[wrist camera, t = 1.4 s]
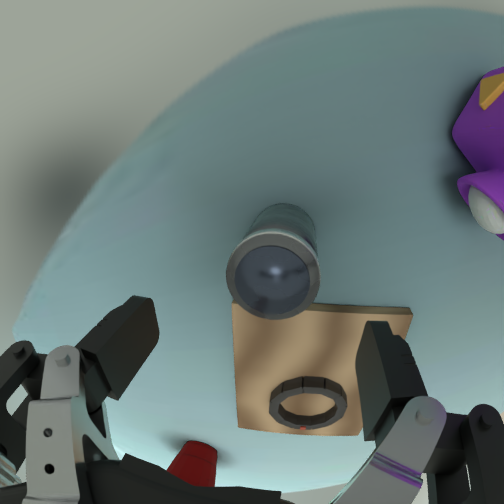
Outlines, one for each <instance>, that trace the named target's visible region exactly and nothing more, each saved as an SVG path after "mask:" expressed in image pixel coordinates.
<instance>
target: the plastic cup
mask: <svg viewBox="0 0 504 504" xmlns="http://www.w3.org/2000/svg"><path fill="white" fill-rule="evenodd" d="M216 463H217V451H216V450H215V449H214V448H213V447H211V446H209V445H207V444H204V443H202V442H198V441H188V442H187V443H186V444H185V445H184V446H183V448H182V449H181V451H180V452H179V454H177V456H176V457H175V458H174V460H173V461H172V463H171V464H170V466H169V467H168V469H167V470H166V471H168V472H169V473H171V474H173V475H175V476H176V477H178V478H180V479H182V480H184V481H185V482H187V483H189V484H191V485H194V486H203V487H215V477H216Z"/></svg>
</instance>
